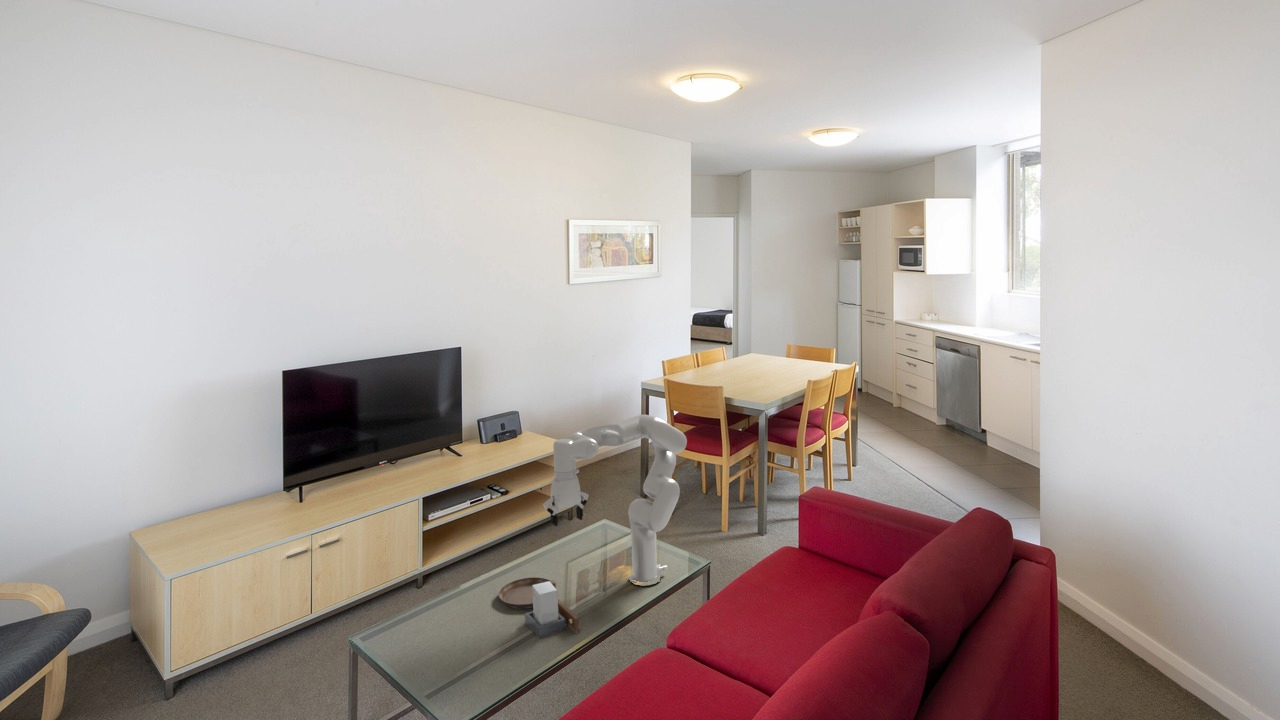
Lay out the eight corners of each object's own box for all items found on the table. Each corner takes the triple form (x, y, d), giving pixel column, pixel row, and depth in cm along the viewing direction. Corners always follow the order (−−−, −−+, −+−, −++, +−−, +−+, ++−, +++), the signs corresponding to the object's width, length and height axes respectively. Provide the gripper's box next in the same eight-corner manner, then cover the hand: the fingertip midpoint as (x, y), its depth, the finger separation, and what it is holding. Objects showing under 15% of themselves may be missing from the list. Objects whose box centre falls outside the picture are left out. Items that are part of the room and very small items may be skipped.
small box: (559, 627, 211) (557, 590, 210) (541, 632, 208) (539, 594, 207) (551, 616, 218) (549, 580, 217) (533, 621, 215) (531, 584, 214)
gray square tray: (551, 615, 220) (550, 605, 220) (566, 629, 211) (565, 619, 210) (525, 623, 215) (524, 613, 215) (539, 638, 206) (539, 628, 205)
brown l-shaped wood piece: (554, 607, 226) (553, 580, 225) (580, 631, 209) (579, 602, 208) (546, 609, 224) (545, 582, 223) (572, 634, 207) (571, 605, 206)
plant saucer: (500, 616, 221) (500, 607, 221) (497, 590, 241) (497, 581, 241) (559, 607, 226) (559, 598, 226) (552, 582, 246) (551, 573, 246)
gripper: (582, 468, 231) (583, 513, 233) (538, 476, 221) (540, 524, 223) (592, 472, 225) (593, 519, 226) (547, 481, 215) (549, 530, 217)
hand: (567, 521), depth 225 cm, fingers open, 9 cm apart
